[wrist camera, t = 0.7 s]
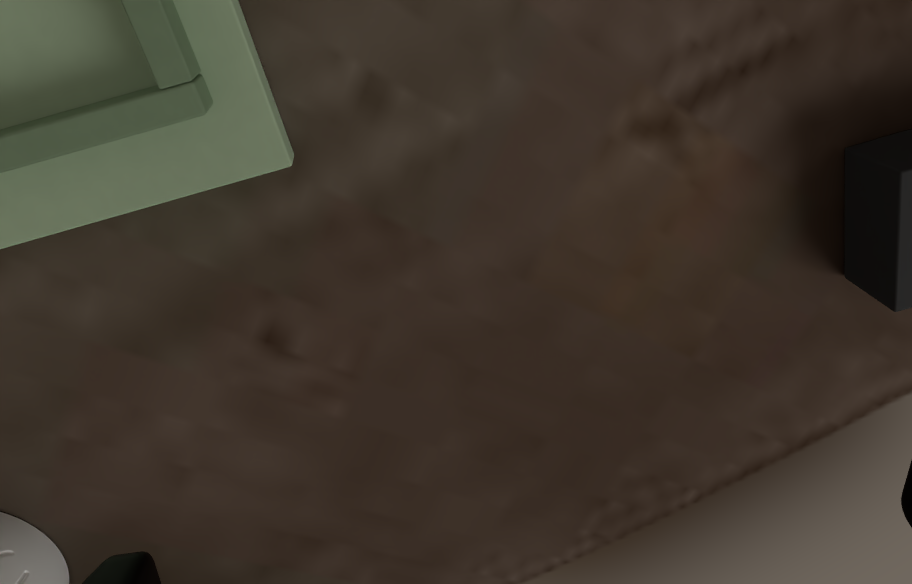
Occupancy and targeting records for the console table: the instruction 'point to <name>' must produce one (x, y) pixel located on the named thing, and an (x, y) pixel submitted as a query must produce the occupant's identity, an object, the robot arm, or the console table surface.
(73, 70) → the base pad
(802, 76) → the console table surface
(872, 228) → the black rectangular block
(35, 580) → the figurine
